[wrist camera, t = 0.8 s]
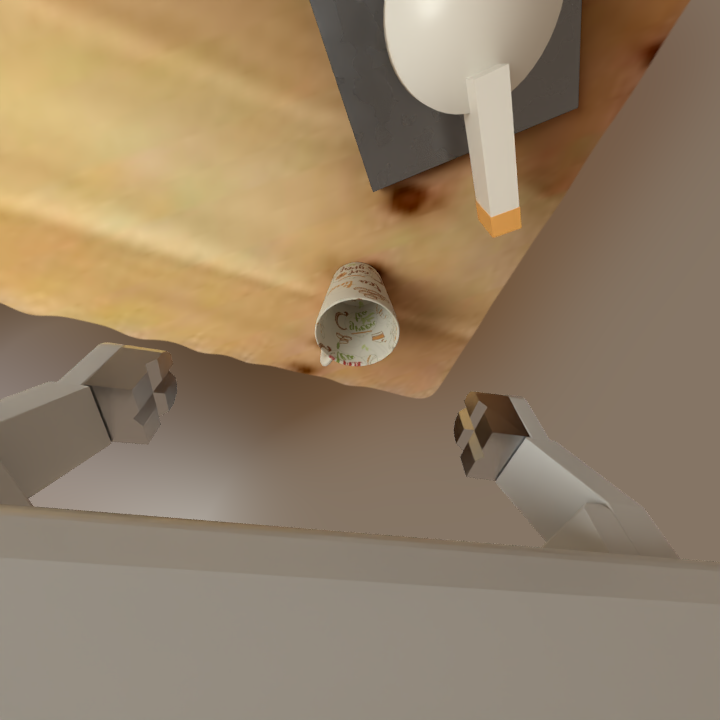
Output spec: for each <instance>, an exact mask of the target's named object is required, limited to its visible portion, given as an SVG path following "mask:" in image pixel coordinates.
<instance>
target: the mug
mask: <svg viewBox="0 0 720 720" xmlns="http://www.w3.org/2000/svg"><path fill="white" fill-rule="evenodd" d="M399 334H400V328H399V322H398V319H397V316H396V314H395V311H394V309H393V306H392V304H391V301H390V299H389V296H388V294H387V292H386V289H385V287H384V284H383V282H382V279H381V277H380V275H379V273H378V272H377V271H376V270H375V269H374V268H373V267H371V266H370V265H368V264H365V263H360V262H354V263H349V264H346V265H344V266H342V267H341V268H340V269H339V270H338V271H337V272H336V273H335V275H334V277H333V279H332V281H331V284H330V287H329V289H328V292H327V294H326V297H325V300H324V302H323V305H322V307H321V310H320V313H319V315H318V318H317V321H316V326H315V337H316V341H317V343H318V345H319V347H320V349H321V356H320V361H321V364H322V365H323V366H327V365H329V364H330V363H331V362H332V360H334V361H336V362H338V363H341V364H344V365H349V366H365V365H370V364H373V363H376V362H378V361H380V360H382V359H384V358H385V357H387V356H388V355H389V354H390V353H391V352H392V351H393V349H394V348H395V346H396V345H397V342H398V339H399Z"/></svg>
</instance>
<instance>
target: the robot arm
mask: <svg viewBox="0 0 720 720" xmlns="http://www.w3.org/2000/svg"><path fill="white" fill-rule="evenodd" d="M172 365H173V361H172V357H171V354H170V353H169V352H167V351H163V350H156V349H149V348H142V347H136V346H130V345H121V344H114V343H107V342H106V343H101V344H99V345H98V346H97V347H96V348H95V349H93V351H91V352H90V353H89V354H88V355H87V356H86V357H85V358H83V359H82V360H81V361H80V362H79V363H78V364H77V365H76V366H75V367H73V368H72V369H71V370H70V371H69V372H68V373H67V374H66V375H65V376H64V377H62V378H61V379H60V380H59V381H58V382H47V383H44V384H41V385H39V386H36V387H33V388H30V389H28V390H25V391H22V392H19V393H17V394H14V395H11V396H9V397H6V398H3V399H0V720H720V562H714V561H702V560H689V559H680V558H679V556H678V555H677V554H676V552H675V551H674V549H673V548H672V547H671V545H670V544H669V542H668V541H667V540H666V538H665V537H664V535H663V534H662V533H661V531H660V530H659V529H658V527H657V526H656V524H655V523H654V522H653V520H652V519H651V517H650V516H649V514H648V513H647V512H646V510H645V509H644V508H643V507H642V506H641V505H640V504H638V503H637V502H636V501H634V500H633V499H632V498H630V497H629V496H628V495H626V494H625V493H624V492H622V491H621V490H619V489H618V488H617V487H616V486H614V485H613V484H612V483H610V482H609V481H608V480H606V479H605V478H604V477H602V476H601V475H600V474H599V473H597V472H596V471H595V470H593V469H592V468H591V467H589V466H588V465H587V464H585V463H584V462H583V461H581V460H580V459H579V458H577V457H576V456H575V455H573V454H572V453H571V452H569V451H568V450H566V449H565V448H564V447H563V446H561V445H560V444H559V443H557V442H556V441H553V440H550V439H549V438H548V436H547V435H546V433H545V431H544V429H543V428H542V426H541V424H540V423H539V421H538V419H537V417H536V416H535V414H534V412H533V411H532V409H531V407H530V406H529V404H528V402H527V400H526V399H524V398H523V397H521V396H512V395H499V394H491V393H483V392H475V391H470V392H469V393H468V394H467V396H466V398H465V400H464V403H465V406H466V408H465V409H463V410H462V411H460V412H458V415H457V417H456V420H455V425H454V437H455V441H456V444H457V445H458V446H459V447H460V448H461V449H462V450H463V453H462V454H461V456H460V458H461V461H462V465H463V468H464V471H465V474H466V477H470V478H479V479H486V480H493V481H496V484H497V485H498V486H499V487H500V488H501V490H502V491H503V492H504V493H505V494H506V495H507V497H508V498H509V499H510V500H511V501H512V503H513V504H514V505H515V506H516V507H517V508H518V510H519V511H520V512H521V513H522V514H523V515H524V517H525V518H526V519H527V520H528V521H529V523H530V524H531V525H532V526H533V527H534V528H535V529H536V531H537V532H538V533H539V534H540V535H541V537H542V538H543V539H544V540H545V541H546V543H545V544H544V545H543V546H542V547H528V546H516V545H504V544H491V543H479V542H467V541H455V540H442V539H429V538H417V537H404V536H392V535H379V534H367V533H354V532H341V531H328V530H317V529H304V528H292V527H279V526H268V525H255V524H243V523H230V522H218V521H206V520H194V519H193V520H192V519H181V518H169V517H157V516H144V515H132V514H120V513H107V512H95V511H81V510H69V509H58V508H45V507H34V506H33V505H32V504H31V502H30V501H29V499H28V498H30V497H32V496H33V495H35V494H36V493H38V492H39V491H40V490H42V489H44V488H45V487H47V486H48V485H50V484H51V483H53V482H54V481H56V480H57V479H59V478H60V477H62V476H63V475H65V474H66V473H68V472H69V471H70V470H72V469H74V468H75V467H77V466H78V465H80V464H81V463H83V462H84V461H86V460H87V459H89V458H90V457H92V456H93V455H95V454H96V453H98V452H99V451H101V450H102V449H104V448H105V447H107V446H108V445H110V444H111V442H122V443H135V444H149V442H150V440H151V439H152V438H153V436H154V434H155V433H156V431H157V430H158V428H159V427H160V425H161V423H160V419H159V417H160V416H162V415H164V414H165V413H167V412H169V410H170V409H171V407H172V405H173V404H174V401H175V397H176V394H177V382H176V377H175V376H174V375H173V374H172V373H171V372H170V371H169V369H170V368H171V367H172Z"/></svg>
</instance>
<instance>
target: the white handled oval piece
mask: <svg viewBox="0 0 720 720" xmlns="http://www.w3.org/2000/svg"><path fill="white" fill-rule="evenodd" d="M562 3H563V0H384V8H383V26H384V37H385V43H386V48H387V52H388V56H389V59H390V62H391V65H392V67H393V69H394V72H395V74H396V75H397V77H398V79H399V81H400V82H401V84H402V85H403V86H404V87H405V89H406V90H407V91H408V92H409V93H410V94H411V95H412V96H413V97H414V98H416V99H417V100H419V101H420V102H421V103H423V104H425V105H427V106H428V107H430V108H432V109H434V110H437V111H440V112H443V113H447V114H464V120H465V127H466V134H467V140H468V147H469V154H470V161H471V167H472V174H473V181H474V188H475V195H476V206H477V213H478V220H479V221H480V222H481V223H482V225H483V226H484V227H485V228H486V230H487V231H488V232H489V233H490V235H491V236H492V237H493V238H494V237H497V236H500V235H503V234H506V233H509V232H511V231H514V230H517V229H520V228H522V226H521V212H520V206H519V197H518V183H517V168H516V154H515V140H514V126H513V112H512V97H511V91H513V90H514V89H515V88H516V87H517V86H518V85H519V84H520V83H521V82H522V81H523V80H524V79H525V77H526V76H527V75H528V74H529V72H530V71H531V70H532V69H533V67H534V66H535V64H536V63H537V61H538V60H539V58H540V57H541V55H542V53H543V51H544V49H545V48H546V46H547V44H548V42H549V40H550V38H551V35H552V33H553V31H554V28H555V26H556V23H557V20H558V17H559V14H560V11H561V7H562Z"/></svg>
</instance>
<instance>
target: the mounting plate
mask: <svg viewBox="0 0 720 720" xmlns="http://www.w3.org/2000/svg"><path fill="white" fill-rule="evenodd" d="M310 3H311V6H312V9H313V12H314V15H315V18H316V21H317V24H318V27H319V30H320V33H321V36H322V39H323V43H324V46H325V49H326V52H327V55H328V58H329V61H330V64H331V67H332V70H333V73H334V76H335V79H336V82H337V85H338V88H339V91H340V94H341V97H342V100H343V103H344V106H345V109H346V112H347V115H348V118H349V121H350V124H351V127H352V130H353V133H354V136H355V139H356V142H357V145H358V148H359V151H360V154H361V157H362V160H363V163H364V166H365V169H366V172H367V175H368V178H369V181H370V184H371V187H372V190H373V192H374V191H377V190H379V189H382V188H384V187H387V186H389V185H391V184H394V183H396V182H399V181H401V180H404V179H406V178H408V177H411V176H413V175H416V174H418V173H421V172H423V171H425V170H428V169H430V168H433V167H435V166H438V165H440V164H442V163H445V162H447V161H450V160H452V159H455V158H457V157H459V156H462V155H464V154H467V153H469V147H468V140H467V134H466V127H465V120H464V114H447V113H443V112H440V111H437V110H434V109H432V108H430V107H428V106H427V105H425V104H423V103H421V102H420V101H419V100H417V99H416V98H414V97H413V96H412V95H411V94H410V93H409V92H408V91H407V90H406V89H405V87H404V86H403V85H402V84H401V82H400V81H399V79H398V77H397V75H396V74H395V72H394V69H393V67H392V65H391V62H390V59H389V56H388V52H387V48H386V43H385V37H384V26H383V8H384V0H310ZM581 6H582V0H563V3H562V7H561V11H560V14H559V17H558V20H557V23H556V26H555V28H554V31H553V33H552V35H551V38H550V40H549V42H548V44H547V46H546V48H545V49H544V51H543V53H542V55H541V57H540V58H539V60H538V61H537V63H536V64H535V66H534V67H533V69H532V70H531V71H530V72H529V74H528V75H527V76H526V77H525V79H524V80H523V81H522V82H521V83H520V84H519V85H518V86H517V87H516V88H515V89H514V90H513V91H511V97H512V112H513V126H514V134H515V133H518V132H520V131H523V130H525V129H527V128H530V127H532V126H535V125H537V124H540V123H542V122H544V121H547V120H549V119H552V118H554V117H557V116H559V115H561V114H564V113H566V112H569V111H571V110H574V109H576V108H578V97H579V67H580V36H581Z"/></svg>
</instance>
